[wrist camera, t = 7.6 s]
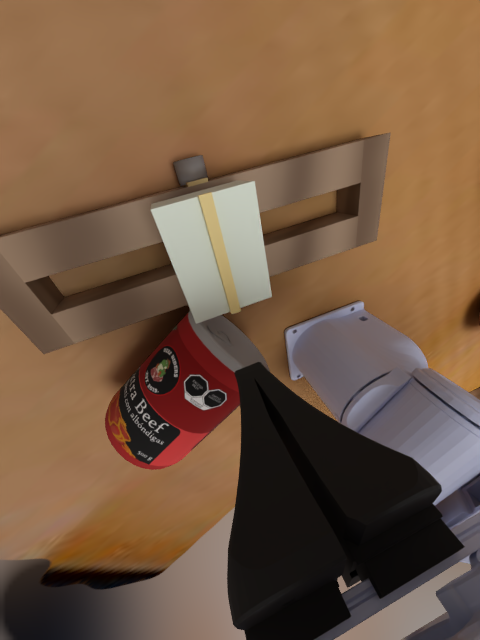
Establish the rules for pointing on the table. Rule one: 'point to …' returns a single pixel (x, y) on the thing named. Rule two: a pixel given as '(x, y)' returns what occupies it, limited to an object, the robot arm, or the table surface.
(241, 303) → the rider
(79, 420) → the table surface
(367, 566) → the robot arm
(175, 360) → the canned food
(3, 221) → the table surface
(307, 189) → the wooden slotted frame
